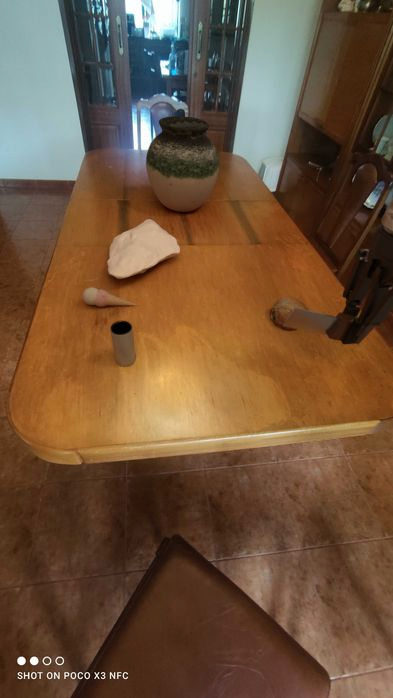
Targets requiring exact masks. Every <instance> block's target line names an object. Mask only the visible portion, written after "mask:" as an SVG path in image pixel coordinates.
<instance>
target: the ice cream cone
mask: <svg viewBox="0 0 393 698" xmlns="http://www.w3.org/2000/svg"><path fill="white" fill-rule="evenodd" d="M82 299H83V301H84V302H85V304H87V305H90V306H96V307H99V308H104V307H106V306H121V307H127V306H132V307H133V306H134V307H136V306H137V307H139V305H138V304H136V303H133V302H131V301H129V300H126V299H124V298H121V297H118V296H117V295H114V294H111V293H109V292H108V291H106V290H105V289H103V288H101V289H100V288H96V287H87V288H85V289H84V291H83V292H82Z"/></svg>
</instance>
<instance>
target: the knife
mask: <svg viewBox="0 0 393 698" xmlns="http://www.w3.org/2000/svg"><path fill="white" fill-rule="evenodd" d="M354 318H359V316H358V315H357V316H352V315H348V314H344V313H342V312H338V313H337V314H336V316H335V315H331V314H327V313H322V312H318V311H313V310H309V309H308V310H305V309H301V308H296V307H295V308H294V309H293V310H292V312H291V313H290V315H289V316H288V317H287V319H286V320H285V322H284V323H283V324H282V325H283V326H285V327H290V328H295V329H297V330H300V331H305V332H311V333H315V334H320V335H325V336H327V337H328V339H329V340H335V341H339V342H342V340H343V338H344V336H345V334H346V333H347V331H348V329H349V327H350V325H351V323H352V322H353V320H354ZM375 328H376V326H370V327H367V329H366V330H365V332H364V334H363V335H360V336H359V338H358V339H357V341H356V343H355V344H354V345H359V344H361V342H362V341H364V340H365V338H366V337H367V336H368V335H369V334H370V333H371V332H372V331H373V330H374V329H375Z"/></svg>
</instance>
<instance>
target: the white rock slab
mask: <svg viewBox="0 0 393 698" xmlns="http://www.w3.org/2000/svg"><path fill="white" fill-rule="evenodd" d="M180 252H181V248H180V246H179V244H178V239H177V238H175V237H174V236H173V235H172V234H170V233H168V232H167V230H165V229H163V228H162V227H161V226H160V225H159V224H158V223H157V222H156V221H155V220H153V219H151V218H147V219H145V220H144V221H143V222H142V223H140V224H138V225H137V226H135V227H133V228H130V229H128V230H126V231H123V232H122V233H120V234H118V235H116V236H114V238H113V240H112V242H111V243H110V246H109V253H108V256H109V259H108V260H107V266H108V267H107V272H108V275H110V276H113V277H114V278H116V279H117V280H123V279H126V278H129V277H133V276H135V275H138V274H144V273H145V272H146V271H147V270H149V269H152V268H153V267H154V266H156V265H158V264H159V263H160V262H163V261H165V260H167V259H170V258H173V257H175V256H177V255H179V254H180Z"/></svg>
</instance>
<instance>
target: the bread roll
mask: <svg viewBox="0 0 393 698" xmlns="http://www.w3.org/2000/svg"><path fill="white" fill-rule="evenodd" d="M295 307H296V308H301V309H305V310H309V308H308V307H307V306H306V304H305V302H303V301H301V300H299V299H293V298H289V297H287V296H286V297H281V298H278V300H276V302H275V303H274V304H273V306H272V310H271V313H270V314H271V315H270V319H271V320H272V321H273V322H274V323H275V324H276V325H277V326H278V327H279V328H281V329H282V330H286V331H297V330H298V329H295V328H290V327H285V326H283V325H282V324H283V323H284V322H285V320H286V319H287V317H288V316H289V315H290V313H291V312H292V310H293V309H294V308H295Z"/></svg>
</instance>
